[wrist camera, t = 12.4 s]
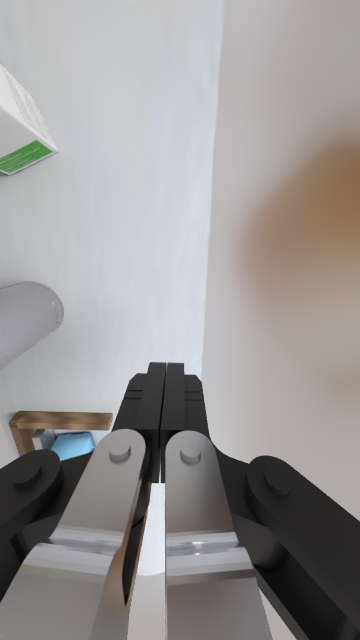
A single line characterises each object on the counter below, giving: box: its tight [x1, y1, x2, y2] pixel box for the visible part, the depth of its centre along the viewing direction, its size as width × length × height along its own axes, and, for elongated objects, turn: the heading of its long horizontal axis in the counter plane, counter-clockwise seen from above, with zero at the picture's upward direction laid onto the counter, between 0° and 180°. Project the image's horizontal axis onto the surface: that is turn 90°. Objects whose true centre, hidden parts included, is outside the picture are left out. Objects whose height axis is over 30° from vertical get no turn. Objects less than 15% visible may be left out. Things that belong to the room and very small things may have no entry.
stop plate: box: [32, 429, 56, 450], centre depth 46 cm, size 2×13×4 cm, turn 178°
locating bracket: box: [9, 411, 113, 457], centre depth 47 cm, size 20×18×3 cm
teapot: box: [50, 432, 96, 461], centre depth 45 cm, size 12×6×8 cm, turn 95°
